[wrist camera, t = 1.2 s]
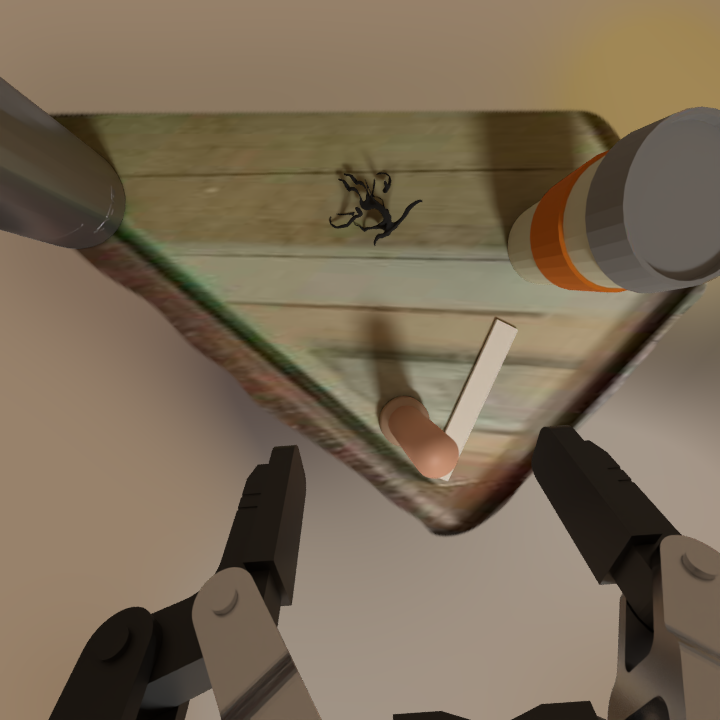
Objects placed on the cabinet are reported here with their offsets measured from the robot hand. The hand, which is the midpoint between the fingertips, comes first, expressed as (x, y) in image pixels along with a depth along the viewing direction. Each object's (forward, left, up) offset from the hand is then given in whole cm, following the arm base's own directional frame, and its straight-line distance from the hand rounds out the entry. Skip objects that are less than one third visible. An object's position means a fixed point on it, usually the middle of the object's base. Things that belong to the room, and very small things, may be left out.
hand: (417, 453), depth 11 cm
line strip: (+17, +1, -25) cm, 30 cm away
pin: (+10, -4, -25) cm, 27 cm away
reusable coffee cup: (+17, +21, -25) cm, 37 cm away
